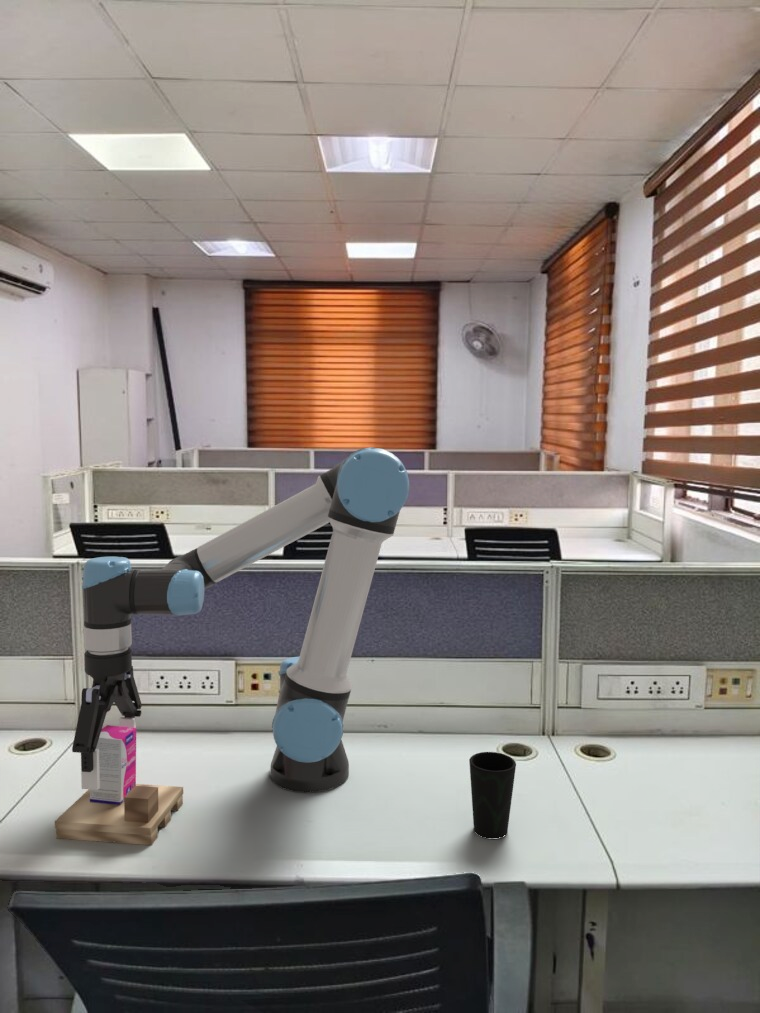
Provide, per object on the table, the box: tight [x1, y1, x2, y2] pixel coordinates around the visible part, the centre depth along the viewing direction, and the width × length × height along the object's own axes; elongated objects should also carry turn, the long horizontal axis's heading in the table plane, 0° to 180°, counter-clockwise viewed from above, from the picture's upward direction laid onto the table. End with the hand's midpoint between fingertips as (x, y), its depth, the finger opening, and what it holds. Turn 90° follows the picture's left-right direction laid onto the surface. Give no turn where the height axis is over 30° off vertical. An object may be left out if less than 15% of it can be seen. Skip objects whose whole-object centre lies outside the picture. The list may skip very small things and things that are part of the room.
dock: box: [54, 783, 184, 846], centre depth 124 cm, size 16×14×3 cm
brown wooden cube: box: [124, 786, 158, 823], centre depth 120 cm, size 4×4×4 cm
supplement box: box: [90, 724, 137, 805], centre depth 126 cm, size 6×6×12 cm
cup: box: [469, 751, 517, 839], centre depth 122 cm, size 8×8×12 cm
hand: (110, 770), depth 126 cm, fingers open, 13 cm apart
